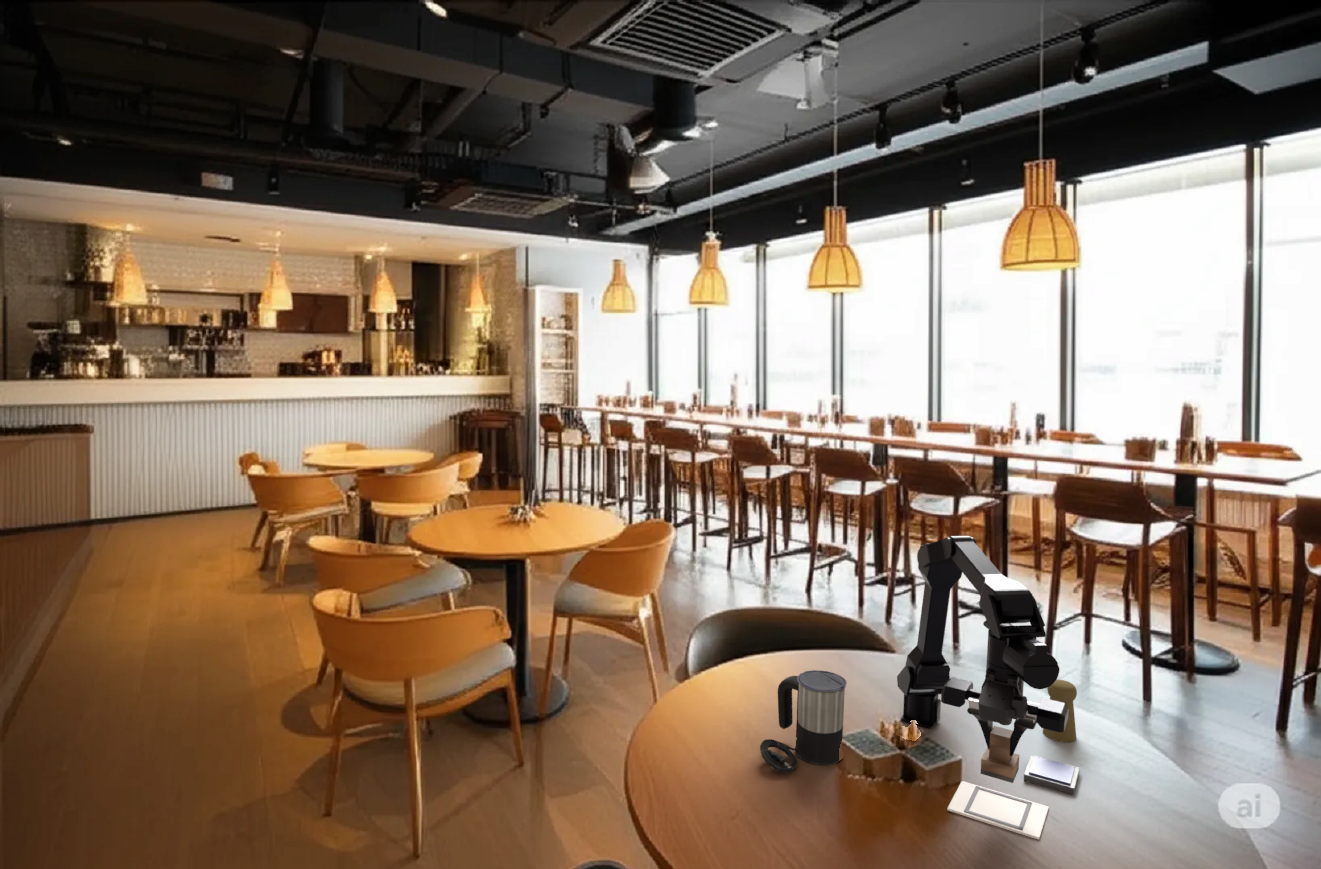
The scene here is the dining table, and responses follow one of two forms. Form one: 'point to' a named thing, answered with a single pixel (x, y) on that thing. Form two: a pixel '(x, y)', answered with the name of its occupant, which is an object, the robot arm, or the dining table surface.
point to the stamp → (1000, 756)
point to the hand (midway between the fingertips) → (1000, 751)
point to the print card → (999, 809)
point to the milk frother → (810, 720)
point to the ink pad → (1052, 774)
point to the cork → (1067, 695)
